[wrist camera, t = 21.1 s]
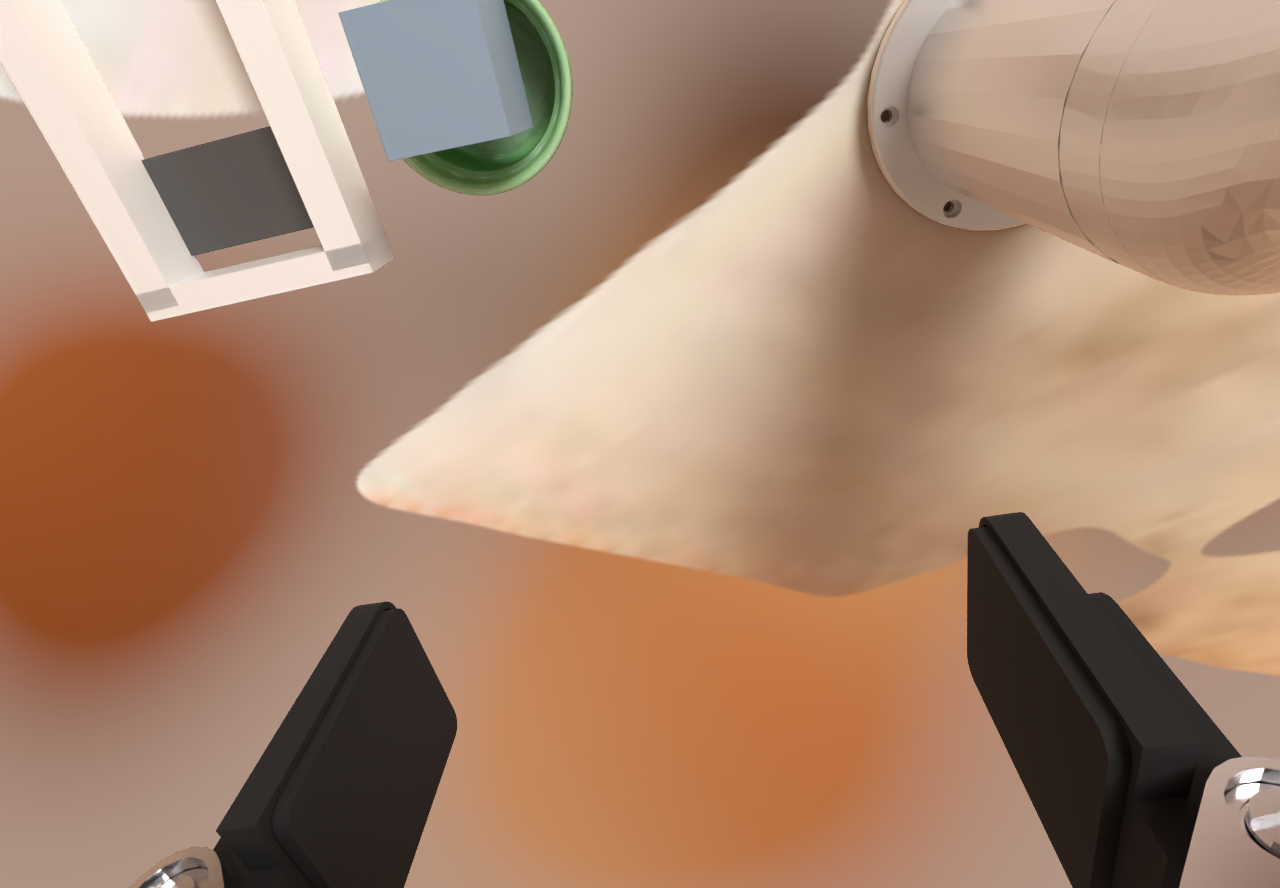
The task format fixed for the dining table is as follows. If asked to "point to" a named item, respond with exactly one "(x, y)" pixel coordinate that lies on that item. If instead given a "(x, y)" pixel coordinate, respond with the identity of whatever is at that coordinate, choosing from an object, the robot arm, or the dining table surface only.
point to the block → (438, 73)
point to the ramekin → (549, 106)
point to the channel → (204, 164)
